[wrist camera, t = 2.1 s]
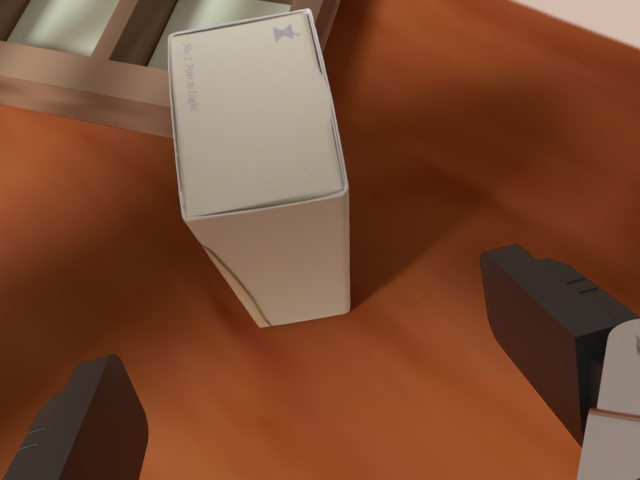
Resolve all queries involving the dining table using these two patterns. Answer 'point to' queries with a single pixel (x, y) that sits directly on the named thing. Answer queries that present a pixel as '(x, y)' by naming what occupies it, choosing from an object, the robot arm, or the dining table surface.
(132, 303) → the dining table surface
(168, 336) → the dining table surface
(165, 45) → the wooden compartment tray
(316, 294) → the skincare box
